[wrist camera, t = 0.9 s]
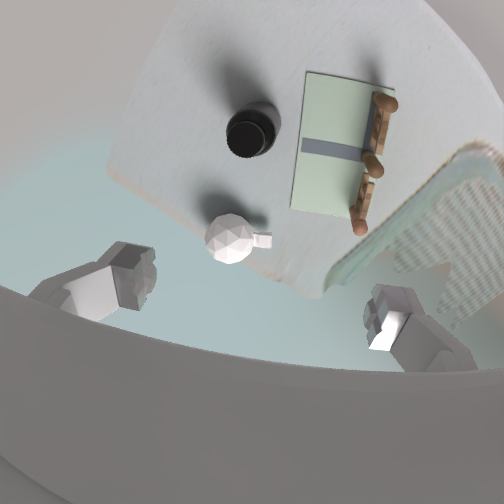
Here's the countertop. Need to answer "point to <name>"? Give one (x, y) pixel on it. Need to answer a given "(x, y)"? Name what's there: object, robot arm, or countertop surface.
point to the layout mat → (333, 144)
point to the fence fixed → (379, 132)
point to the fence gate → (362, 205)
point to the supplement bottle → (253, 129)
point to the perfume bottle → (233, 238)
